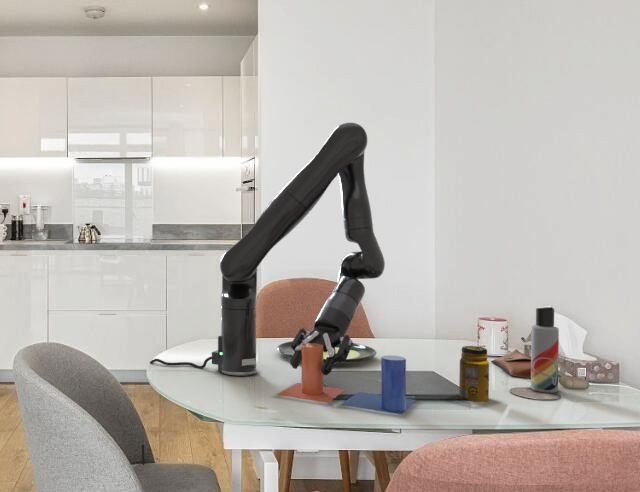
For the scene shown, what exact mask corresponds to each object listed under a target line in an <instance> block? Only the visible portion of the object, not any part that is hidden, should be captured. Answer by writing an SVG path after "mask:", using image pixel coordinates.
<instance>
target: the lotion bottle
mask: <svg viewBox="0 0 640 492" xmlns="http://www.w3.org/2000/svg"><path fill="white" fill-rule="evenodd" d="M559 334H560V331H559V327H557V326H555V309H554V308H553V306H546V307H545V306H544V307H536V308H535V325H531V334H530V339H531V340H530V341H531V342H530V344H531V345H530V349H531V350H530V358H531V378H530V388H531V390H533V391H536V392H539V393H546V394H553V393H557V392H558V391H559V356H560V355H559V353H560V352H559V351H560V350H559V348H560V347H559V345H560V344H559V343H560V341H559V340H560V337H559V336H560V335H559Z"/></svg>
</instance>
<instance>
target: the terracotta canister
mask: <svg viewBox="0 0 640 492" xmlns="http://www.w3.org/2000/svg"><path fill="white" fill-rule="evenodd" d="M323 364H324V362H323V345H321V344H316V343H305V344H302V351H301V362H300V365H301V369H300V370H301V371H300V372H301V374H300V375H301V376H300V377H301V380H300V381H301V382H300V383H301V392H302V393H305V394H309V395H320V394H323V387H324V375H323V373H322V372H321V368H322V366H323Z"/></svg>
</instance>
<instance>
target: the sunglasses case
mask: <svg viewBox="0 0 640 492" xmlns="http://www.w3.org/2000/svg"><path fill="white" fill-rule="evenodd" d="M490 362H491V363H493V364H495V366H497V367H499V368H500V369H502V370H503V371H504V372H505V373H507V374H508V375H511V376H512V377H517V378H523V379H531V356H529V355H527V354H525V353H522V352H521V351H519V350H518V349H514V350H513V351H512V352H510V353H508V354H505V355H502V356H499V357H497V358H493V359H492V360H491V361H490Z"/></svg>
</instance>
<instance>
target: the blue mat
mask: <svg viewBox="0 0 640 492" xmlns="http://www.w3.org/2000/svg"><path fill="white" fill-rule="evenodd" d="M415 402H417V399H412V398H406V410H405V411H404V412H389V411H385V410H383V409H382V408H381V394H378V393H371V392H364V391H358V392H356V393H354V394H353V395H352V396H351V397H349V398H348V399H347V400H345V401H343V403H341V404H340V405H341V406H346V407H351V408H358V409H365V410H371V411H377V412H383V413H391V414H397V415H403V414H405V412H406V411H407V410H408V409H409V408H410V407H411V406H412V405H414V403H415Z"/></svg>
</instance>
